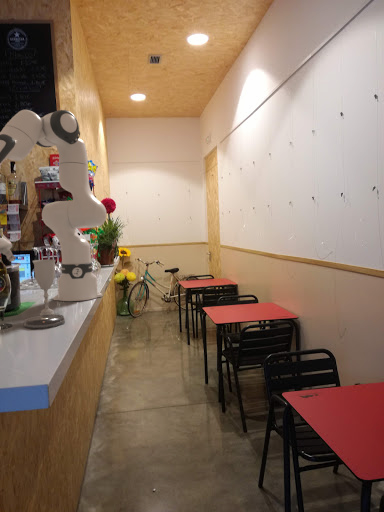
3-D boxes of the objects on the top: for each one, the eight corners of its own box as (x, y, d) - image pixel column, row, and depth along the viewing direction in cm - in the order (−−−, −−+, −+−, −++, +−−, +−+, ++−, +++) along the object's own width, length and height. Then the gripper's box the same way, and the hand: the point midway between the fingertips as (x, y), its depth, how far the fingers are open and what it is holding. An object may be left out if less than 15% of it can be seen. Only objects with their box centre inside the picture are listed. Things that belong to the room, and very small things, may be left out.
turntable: (26, 321, 115) (26, 316, 115) (65, 318, 118) (64, 312, 118) (22, 330, 105) (22, 324, 104) (64, 326, 108) (64, 320, 108)
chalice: (63, 315, 123) (60, 259, 121) (47, 320, 116) (44, 261, 115) (46, 313, 126) (43, 259, 124) (30, 318, 119) (26, 261, 118)
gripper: (-41, 223, 109) (-5, 256, 109) (-4, 224, 129) (27, 251, 130) (-55, 239, 109) (-19, 272, 110) (-16, 237, 129) (14, 265, 130)
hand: (6, 261), depth 120 cm, fingers open, 8 cm apart
